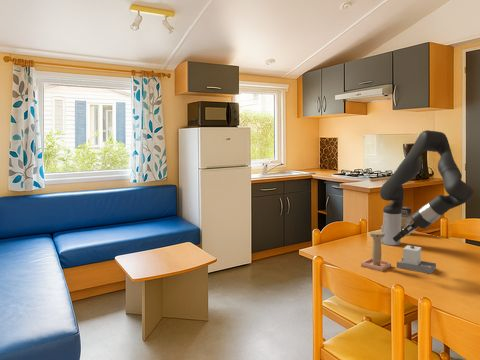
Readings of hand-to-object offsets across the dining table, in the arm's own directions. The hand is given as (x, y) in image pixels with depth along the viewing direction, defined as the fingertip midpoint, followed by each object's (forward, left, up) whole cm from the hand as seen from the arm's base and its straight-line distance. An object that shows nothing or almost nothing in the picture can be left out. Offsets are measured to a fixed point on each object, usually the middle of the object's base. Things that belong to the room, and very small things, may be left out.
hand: (397, 237), depth 170 cm
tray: (-9, -2, -15) cm, 17 cm away
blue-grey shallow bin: (+5, +8, -15) cm, 18 cm away
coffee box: (-26, +64, -15) cm, 70 cm away
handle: (-9, -2, -14) cm, 17 cm away
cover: (+3, +8, -13) cm, 15 cm away
